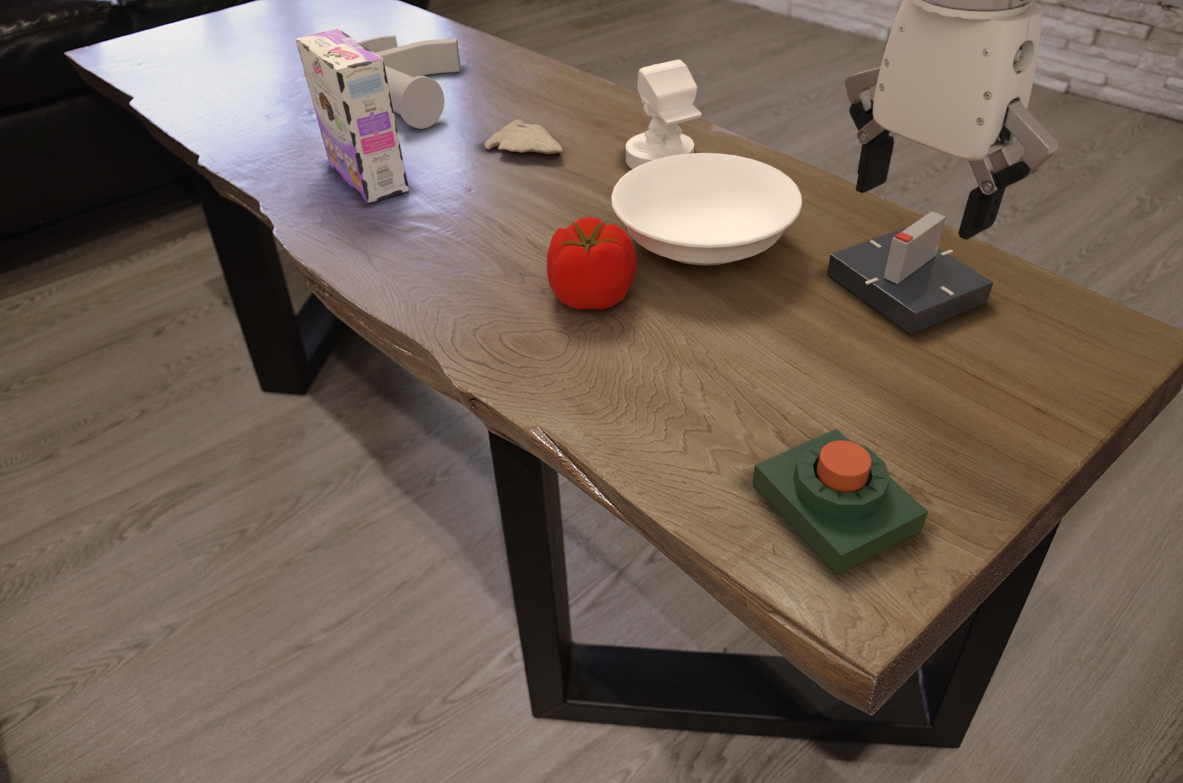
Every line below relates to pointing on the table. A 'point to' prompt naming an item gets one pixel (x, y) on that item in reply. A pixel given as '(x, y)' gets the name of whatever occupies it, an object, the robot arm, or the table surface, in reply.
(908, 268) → the grey block
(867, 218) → the table surface
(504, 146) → the decorative stone
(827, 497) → the green button base
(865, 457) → the button
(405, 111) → the faucet
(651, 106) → the character figurine
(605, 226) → the tomato
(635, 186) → the bowl
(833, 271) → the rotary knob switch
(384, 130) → the candy box
